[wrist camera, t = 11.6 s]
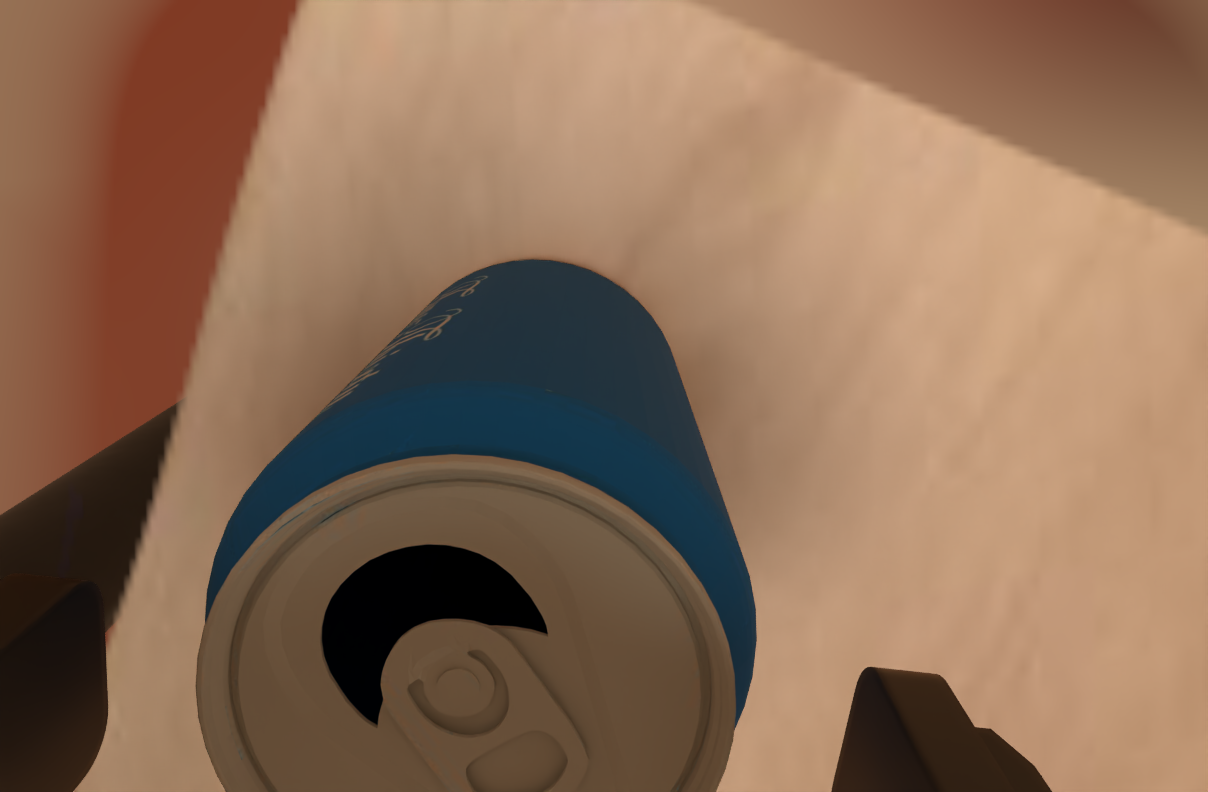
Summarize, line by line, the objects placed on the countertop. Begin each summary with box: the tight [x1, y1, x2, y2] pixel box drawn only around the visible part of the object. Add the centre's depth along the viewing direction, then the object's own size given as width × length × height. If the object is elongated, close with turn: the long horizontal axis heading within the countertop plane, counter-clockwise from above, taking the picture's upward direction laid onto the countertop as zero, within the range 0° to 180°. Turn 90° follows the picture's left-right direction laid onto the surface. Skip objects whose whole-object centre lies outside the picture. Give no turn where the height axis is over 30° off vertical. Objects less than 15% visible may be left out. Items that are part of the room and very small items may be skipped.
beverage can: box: [196, 260, 757, 792], centre depth 15 cm, size 6×6×12 cm
